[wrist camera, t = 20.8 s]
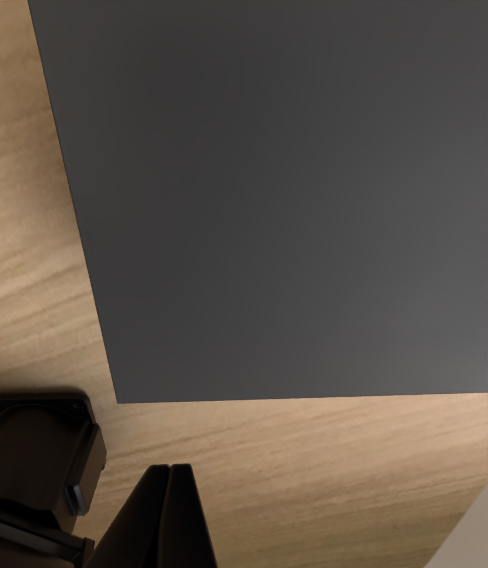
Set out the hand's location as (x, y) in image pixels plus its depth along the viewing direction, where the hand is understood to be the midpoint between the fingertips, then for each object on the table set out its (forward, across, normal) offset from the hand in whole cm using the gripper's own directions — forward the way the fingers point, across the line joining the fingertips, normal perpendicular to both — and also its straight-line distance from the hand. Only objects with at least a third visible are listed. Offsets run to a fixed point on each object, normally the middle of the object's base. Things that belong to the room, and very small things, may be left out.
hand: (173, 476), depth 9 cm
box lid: (+6, -4, -4) cm, 8 cm away
